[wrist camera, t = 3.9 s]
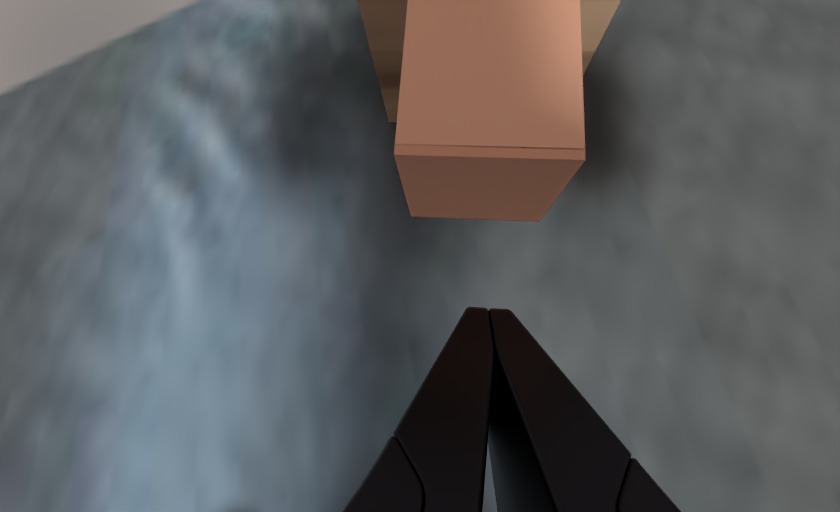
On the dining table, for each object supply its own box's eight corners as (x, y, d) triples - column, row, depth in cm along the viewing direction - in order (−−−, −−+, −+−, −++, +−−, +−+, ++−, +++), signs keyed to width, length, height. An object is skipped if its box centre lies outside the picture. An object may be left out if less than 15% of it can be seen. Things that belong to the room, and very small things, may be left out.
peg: (539, 221, 13) (585, 159, 9) (410, 216, 14) (393, 154, 9) (538, -17, 15) (574, -160, 11) (428, -16, 16) (421, -154, 11)
